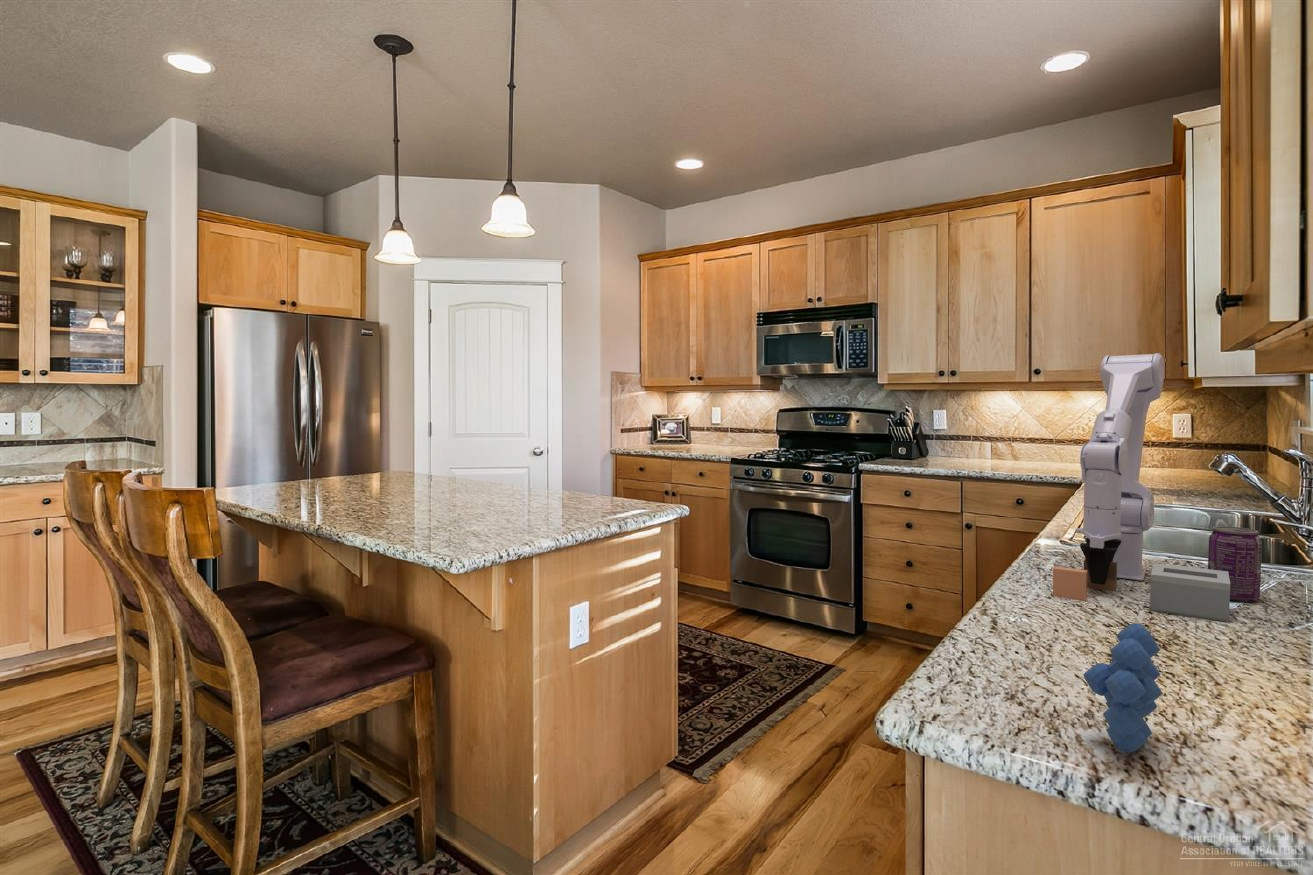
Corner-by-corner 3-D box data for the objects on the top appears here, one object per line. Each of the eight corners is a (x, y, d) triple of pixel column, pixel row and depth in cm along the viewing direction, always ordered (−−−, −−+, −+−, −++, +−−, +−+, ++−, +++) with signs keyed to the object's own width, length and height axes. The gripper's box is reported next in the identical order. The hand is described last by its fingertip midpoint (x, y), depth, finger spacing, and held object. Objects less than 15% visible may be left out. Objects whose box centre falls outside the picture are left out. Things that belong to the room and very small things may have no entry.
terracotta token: (1054, 593, 123) (1055, 566, 123) (1087, 598, 120) (1087, 570, 120) (1052, 596, 122) (1053, 568, 121) (1085, 601, 118) (1086, 572, 118)
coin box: (1152, 596, 121) (1154, 562, 120) (1226, 606, 114) (1228, 571, 114) (1149, 610, 113) (1151, 574, 113) (1228, 622, 107) (1230, 584, 106)
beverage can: (1239, 592, 123) (1242, 526, 123) (1270, 603, 116) (1273, 533, 116) (1197, 591, 124) (1199, 525, 123) (1225, 602, 117) (1228, 532, 116)
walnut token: (1084, 585, 129) (1085, 558, 128) (1116, 589, 126) (1117, 562, 125) (1083, 587, 127) (1083, 560, 127) (1115, 591, 124) (1116, 564, 124)
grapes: (1094, 711, 76) (1097, 605, 76) (1169, 731, 72) (1173, 618, 71) (1066, 750, 68) (1070, 631, 67) (1150, 775, 63) (1154, 647, 63)
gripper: (1081, 500, 134) (1079, 569, 134) (1070, 510, 122) (1069, 585, 123) (1125, 503, 129) (1123, 575, 130) (1118, 513, 118) (1116, 591, 119)
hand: (1099, 580), depth 126 cm, fingers open, 5 cm apart
